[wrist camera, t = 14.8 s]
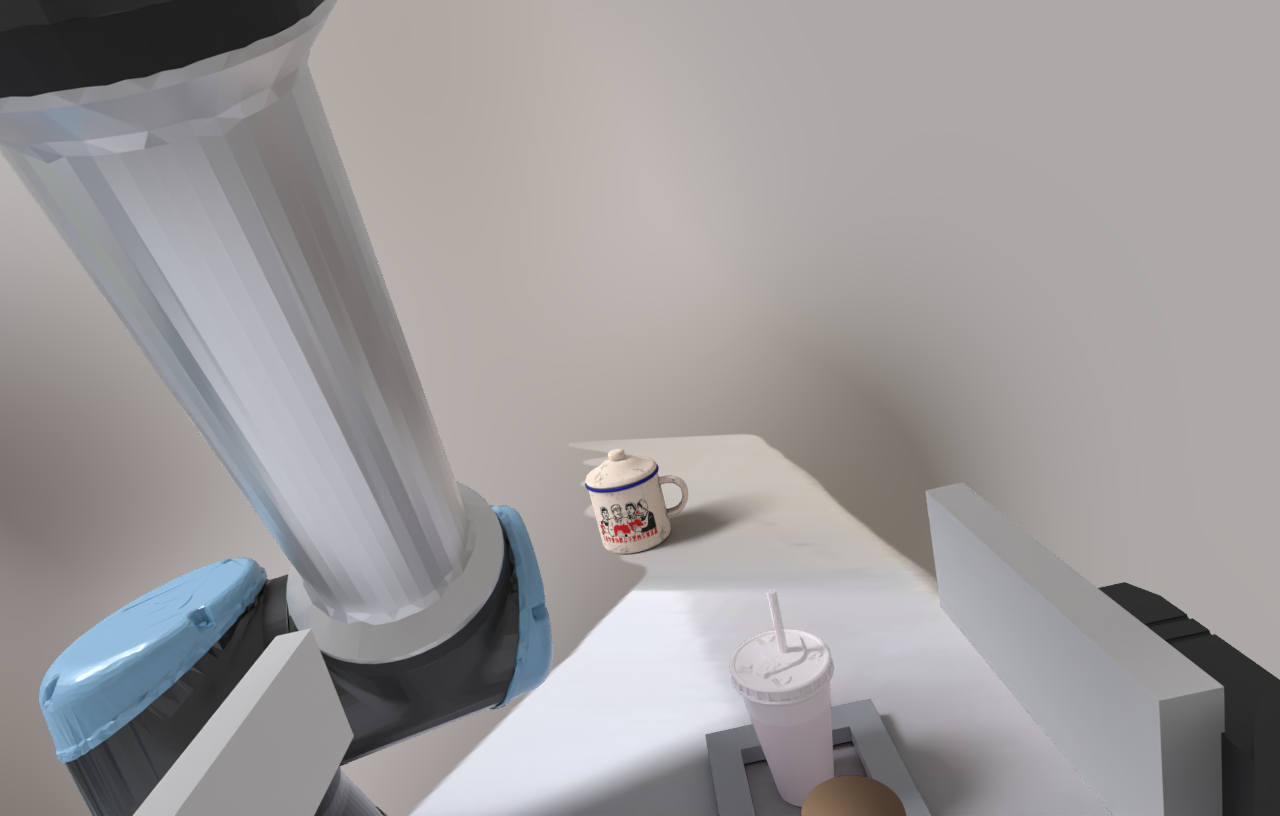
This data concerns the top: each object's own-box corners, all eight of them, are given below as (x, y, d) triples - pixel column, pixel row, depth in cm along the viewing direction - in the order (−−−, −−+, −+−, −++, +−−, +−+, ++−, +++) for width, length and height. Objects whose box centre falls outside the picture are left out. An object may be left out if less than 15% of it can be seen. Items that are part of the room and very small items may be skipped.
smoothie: (874, 771, 47) (840, 581, 44) (822, 842, 43) (780, 638, 40) (791, 736, 52) (754, 562, 48) (737, 797, 48) (692, 611, 44)
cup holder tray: (779, 1170, 29) (712, 916, 26) (708, 748, 52) (669, 586, 49) (1077, 1111, 29) (1047, 846, 25) (872, 713, 52) (843, 547, 49)
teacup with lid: (596, 561, 86) (571, 471, 83) (608, 527, 95) (586, 445, 92) (694, 545, 84) (673, 452, 81) (698, 513, 93) (678, 428, 90)
